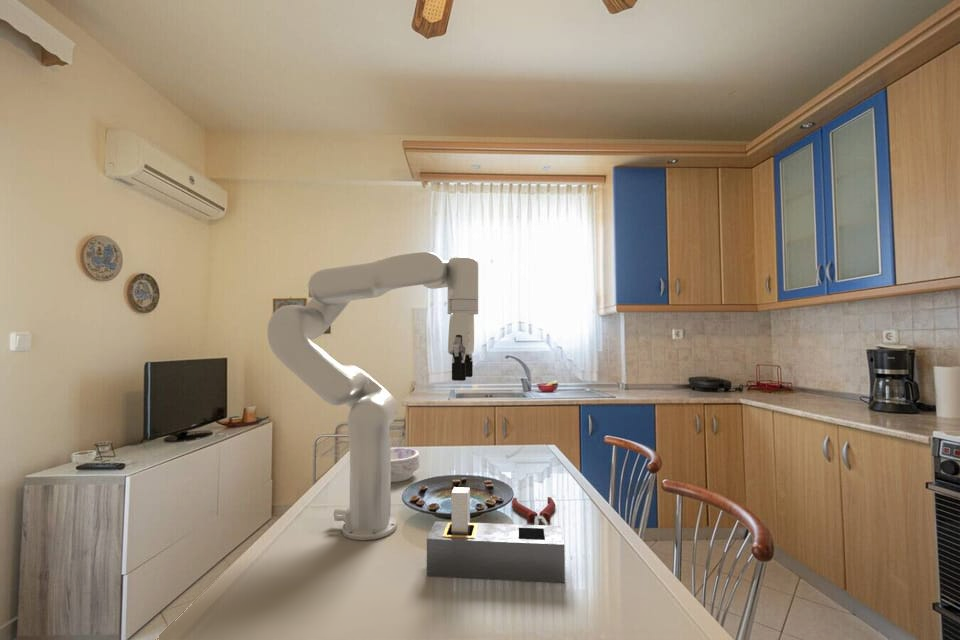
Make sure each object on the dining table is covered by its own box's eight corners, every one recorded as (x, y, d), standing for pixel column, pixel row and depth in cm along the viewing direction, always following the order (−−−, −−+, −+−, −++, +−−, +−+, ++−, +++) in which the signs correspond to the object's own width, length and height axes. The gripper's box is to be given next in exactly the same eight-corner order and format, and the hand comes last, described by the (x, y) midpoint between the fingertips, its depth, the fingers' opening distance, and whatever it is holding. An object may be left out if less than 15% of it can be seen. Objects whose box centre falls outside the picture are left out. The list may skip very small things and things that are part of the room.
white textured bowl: (362, 483, 136) (363, 457, 136) (386, 469, 151) (387, 446, 151) (406, 487, 132) (406, 461, 132) (427, 472, 146) (427, 449, 147)
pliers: (518, 539, 99) (518, 527, 99) (511, 505, 119) (511, 495, 119) (568, 538, 99) (568, 526, 99) (552, 505, 119) (552, 495, 119)
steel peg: (451, 560, 84) (451, 492, 85) (454, 552, 87) (454, 487, 88) (467, 561, 84) (467, 493, 84) (469, 553, 87) (469, 487, 88)
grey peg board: (426, 576, 82) (426, 537, 83) (435, 555, 90) (435, 520, 91) (564, 583, 80) (564, 543, 80) (561, 561, 88) (560, 525, 88)
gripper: (454, 310, 114) (454, 375, 114) (439, 305, 97) (439, 381, 96) (483, 310, 113) (482, 375, 112) (472, 305, 96) (472, 382, 95)
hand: (462, 378), depth 104 cm, fingers open, 9 cm apart
